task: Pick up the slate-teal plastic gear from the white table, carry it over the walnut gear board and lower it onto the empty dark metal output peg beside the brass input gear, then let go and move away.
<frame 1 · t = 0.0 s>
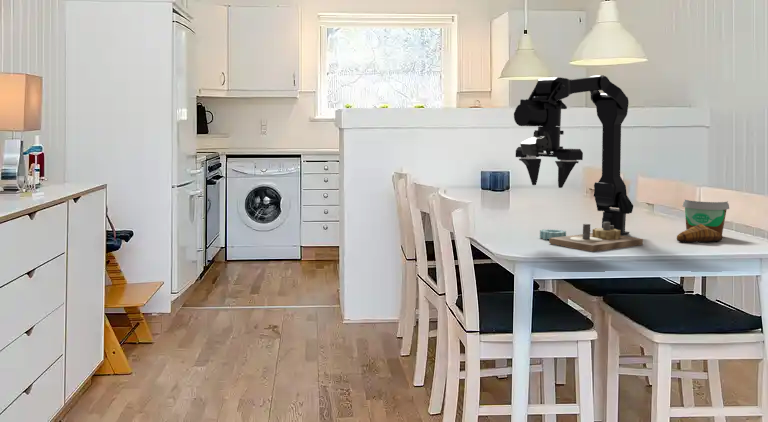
hand: (547, 186, 203), 15 cm above the table, tool pointing down, fingers open, 9 cm apart
gear board: (596, 244, 201), on the table
teal gear: (552, 238, 210), on the table
croissant: (699, 243, 208), on the table
food container: (703, 237, 217), on the table
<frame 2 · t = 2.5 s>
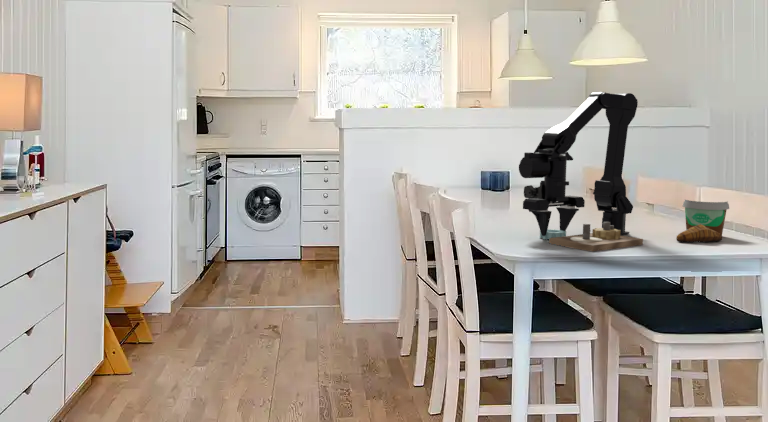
hand: (552, 234, 210), 1 cm above the table, tool pointing down, fingers closed on teal gear, 7 cm apart
teal gear: (552, 238, 210), on the table, touching gripper
everything else where it was.
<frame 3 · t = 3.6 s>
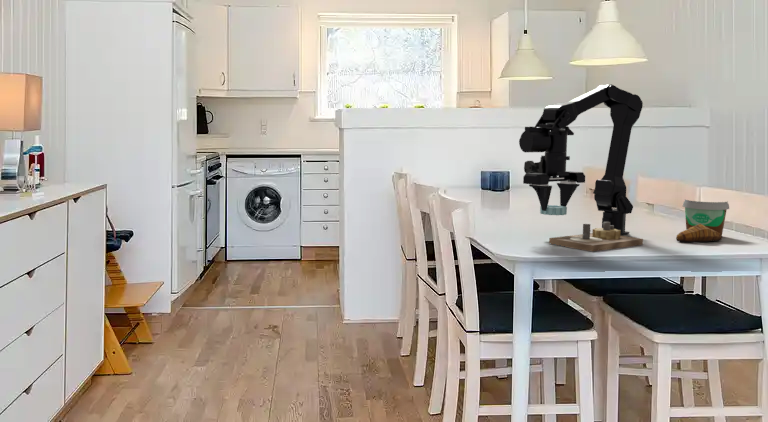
hand: (553, 209, 209), 8 cm above the table, tool pointing down, fingers closed on teal gear, 7 cm apart
teal gear: (553, 213, 209), point 7 cm above the table, touching gripper
everything else where it was.
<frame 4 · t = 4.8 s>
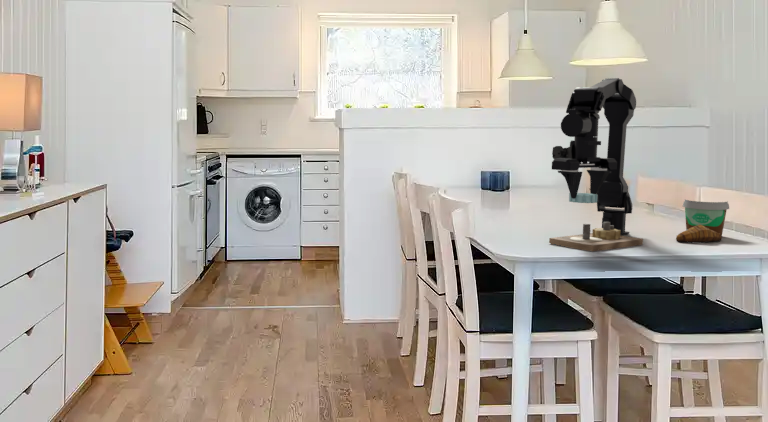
hand: (583, 197, 198), 12 cm above the table, tool pointing down, fingers closed on teal gear, 7 cm apart
teal gear: (582, 201, 199), point 11 cm above the table, touching gripper
everything else where it was.
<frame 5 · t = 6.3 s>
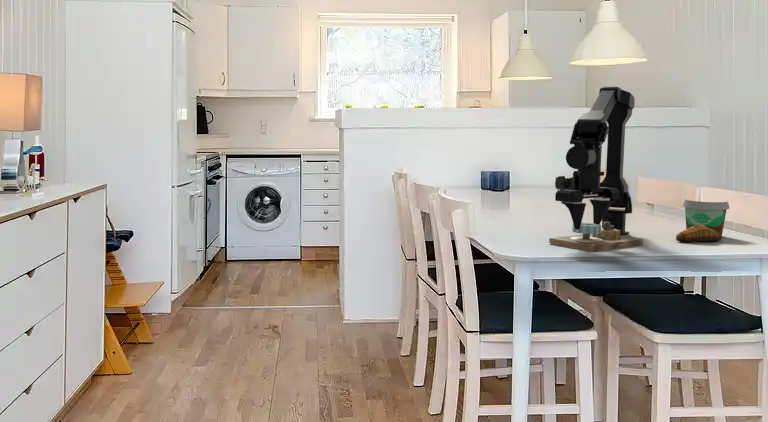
hand: (586, 228, 198), 4 cm above the table, tool pointing down, fingers closed on teal gear, 7 cm apart
teal gear: (586, 232, 198), point 3 cm above the table, touching gripper
everything else where it was.
when the fingers open (4 cm above the table, at t = 7.0 s): teal gear drops 2 cm, resting on gear board.
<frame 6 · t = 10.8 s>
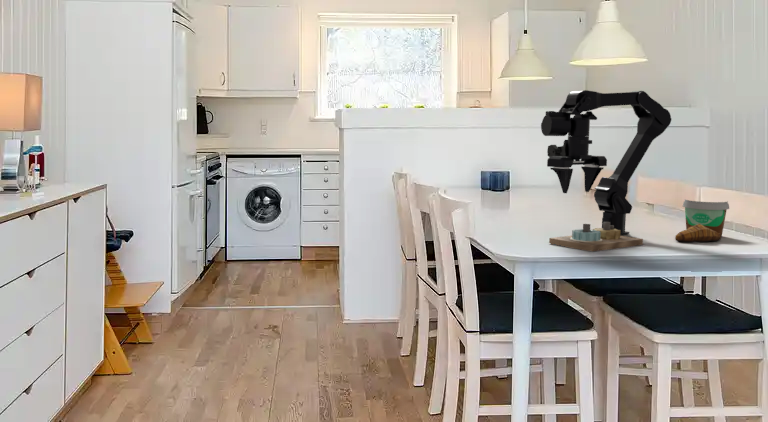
hand: (576, 192, 216), 12 cm above the table, tool pointing down, fingers open, 9 cm apart
teal gear: (586, 238, 199), point 2 cm above the table, touching gear board
everything else where it was.
at the end: teal gear 0.1 cm from the target spot on the gear board, point 1.7 cm above the gear board's base; teal gear tilted 0°; the gripper is holding nothing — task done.
